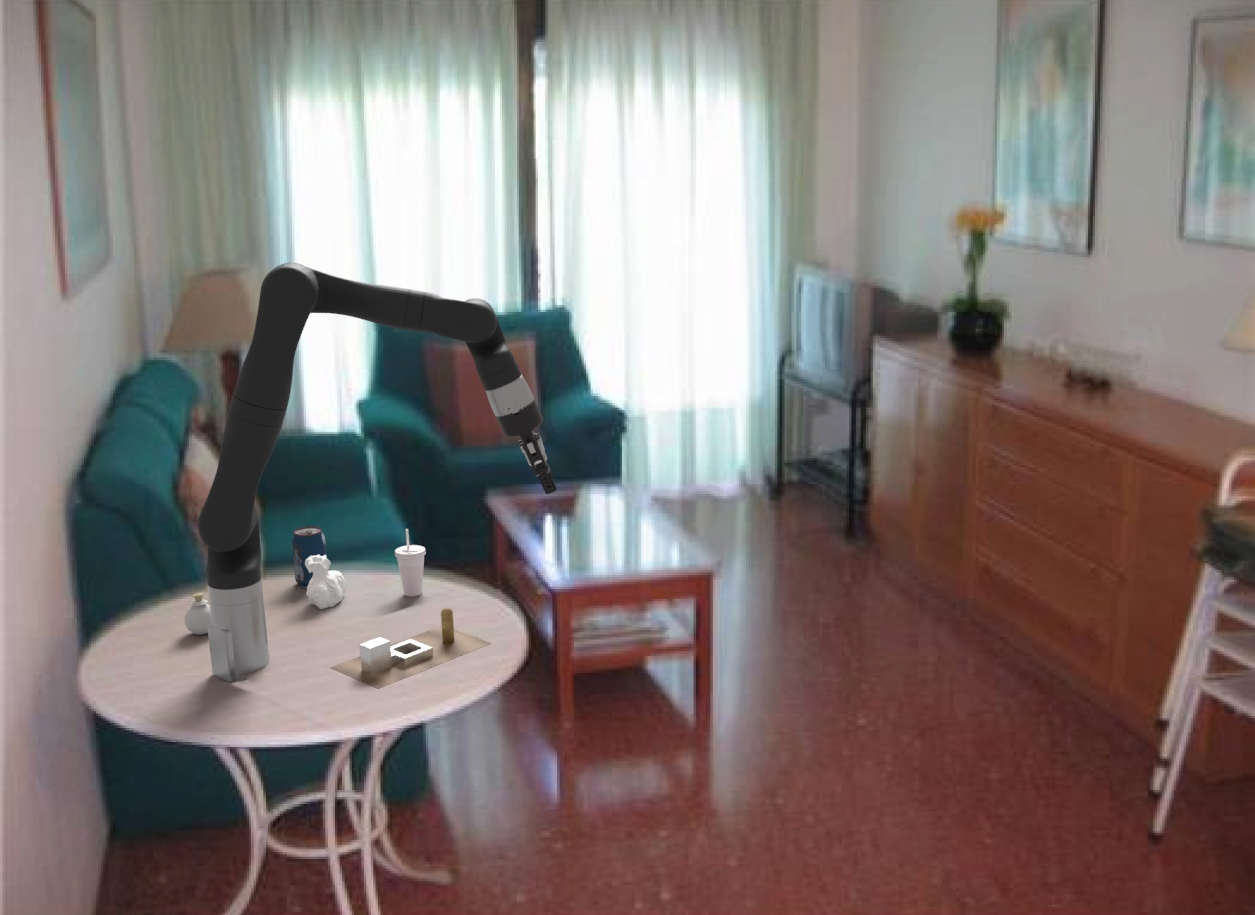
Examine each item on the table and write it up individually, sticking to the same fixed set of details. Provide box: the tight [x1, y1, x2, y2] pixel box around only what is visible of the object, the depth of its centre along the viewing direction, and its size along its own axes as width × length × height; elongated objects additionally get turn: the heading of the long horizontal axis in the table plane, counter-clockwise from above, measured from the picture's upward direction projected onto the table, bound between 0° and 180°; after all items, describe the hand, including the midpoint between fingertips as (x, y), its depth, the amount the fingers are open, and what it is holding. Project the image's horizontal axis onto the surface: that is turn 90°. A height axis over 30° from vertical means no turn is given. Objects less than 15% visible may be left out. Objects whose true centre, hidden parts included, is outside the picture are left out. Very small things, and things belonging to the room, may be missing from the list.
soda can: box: [291, 526, 328, 589], centre depth 277 cm, size 7×7×12 cm
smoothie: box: [394, 528, 427, 597], centre depth 270 cm, size 6×6×14 cm
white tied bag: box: [305, 554, 347, 610], centre depth 267 cm, size 12×8×11 cm
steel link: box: [359, 636, 433, 675], centre depth 232 cm, size 12×6×5 cm, turn 137°
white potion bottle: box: [184, 585, 212, 636], centre depth 251 cm, size 6×7×10 cm
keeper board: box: [330, 607, 492, 690], centre depth 235 cm, size 26×14×8 cm, turn 137°
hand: (550, 485), depth 233 cm, fingers open, 8 cm apart
